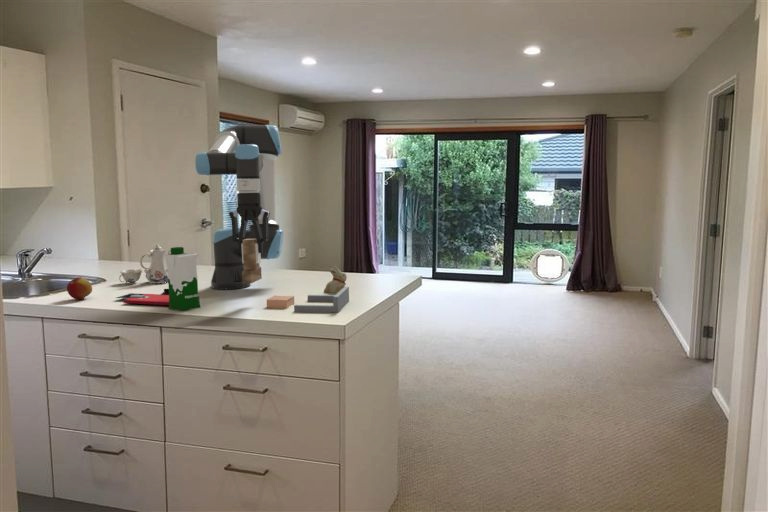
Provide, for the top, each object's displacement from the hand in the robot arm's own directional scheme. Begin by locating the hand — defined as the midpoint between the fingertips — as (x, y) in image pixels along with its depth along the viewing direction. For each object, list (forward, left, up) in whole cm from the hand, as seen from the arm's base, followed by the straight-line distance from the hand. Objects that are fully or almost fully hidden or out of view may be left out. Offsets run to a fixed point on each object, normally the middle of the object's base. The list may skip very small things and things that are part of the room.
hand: (251, 262), depth 202 cm
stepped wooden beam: (0, 0, -6) cm, 6 cm away
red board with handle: (-37, +4, -15) cm, 40 cm away
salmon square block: (+9, 0, -15) cm, 18 cm away
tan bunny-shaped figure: (+22, +26, -15) cm, 38 cm away
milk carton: (-22, -6, -15) cm, 27 cm away
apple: (-67, +5, -15) cm, 68 cm away
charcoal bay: (+23, 0, -14) cm, 28 cm away
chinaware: (-58, +44, -15) cm, 74 cm away
